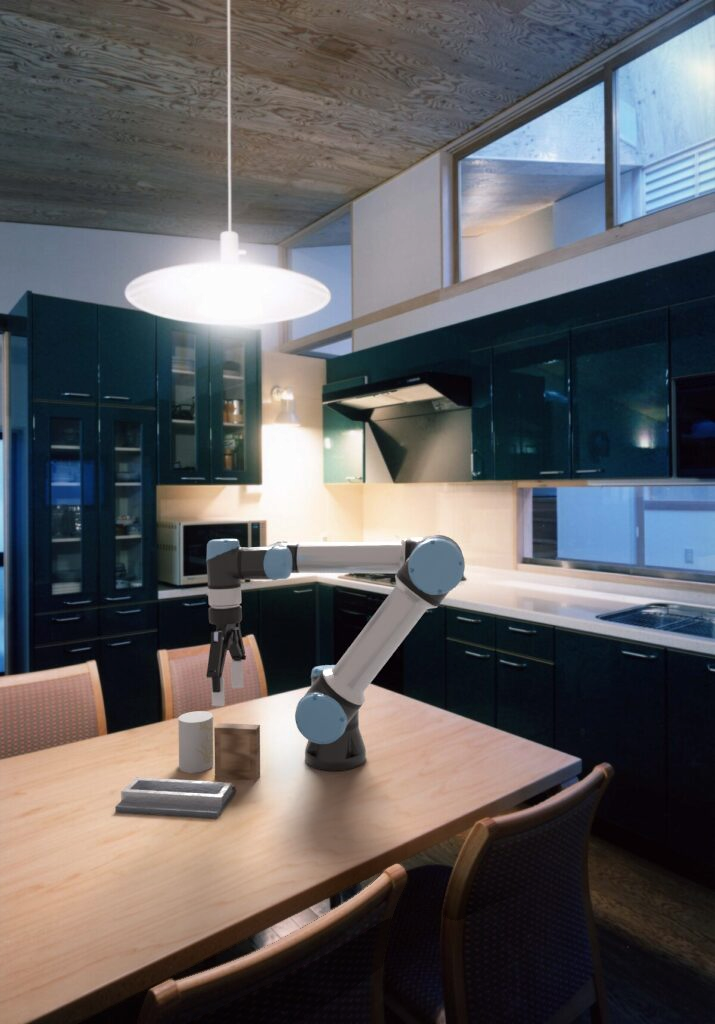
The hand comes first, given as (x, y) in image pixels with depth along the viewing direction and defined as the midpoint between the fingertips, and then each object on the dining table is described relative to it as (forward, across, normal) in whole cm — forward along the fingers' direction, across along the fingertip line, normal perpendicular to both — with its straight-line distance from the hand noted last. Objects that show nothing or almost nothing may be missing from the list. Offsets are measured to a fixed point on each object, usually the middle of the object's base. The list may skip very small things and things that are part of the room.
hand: (228, 696), depth 152 cm
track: (+19, +13, -8) cm, 24 cm away
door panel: (+19, 0, +2) cm, 19 cm away
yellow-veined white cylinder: (+19, -5, -10) cm, 22 cm away
